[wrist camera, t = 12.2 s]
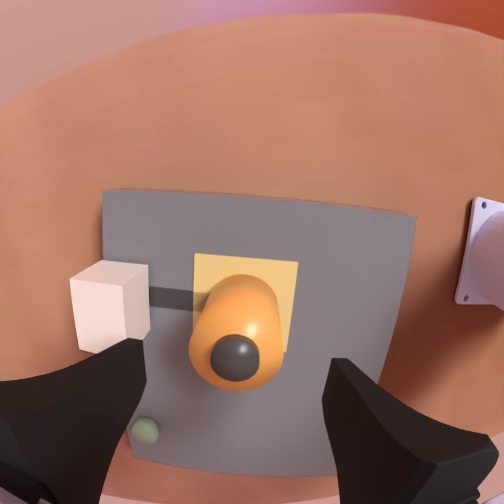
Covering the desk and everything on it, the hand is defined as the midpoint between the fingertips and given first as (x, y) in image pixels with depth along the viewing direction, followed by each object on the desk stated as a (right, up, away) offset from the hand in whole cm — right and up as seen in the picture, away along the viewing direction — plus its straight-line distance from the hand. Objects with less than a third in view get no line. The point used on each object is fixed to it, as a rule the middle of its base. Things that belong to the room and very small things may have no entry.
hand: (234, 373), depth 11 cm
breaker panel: (0, -3, +10) cm, 10 cm away
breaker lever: (-7, +2, +7) cm, 10 cm away
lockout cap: (0, +1, +6) cm, 7 cm away
